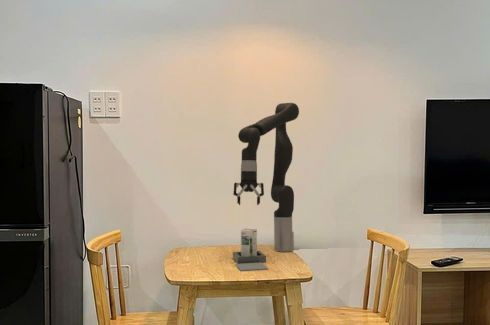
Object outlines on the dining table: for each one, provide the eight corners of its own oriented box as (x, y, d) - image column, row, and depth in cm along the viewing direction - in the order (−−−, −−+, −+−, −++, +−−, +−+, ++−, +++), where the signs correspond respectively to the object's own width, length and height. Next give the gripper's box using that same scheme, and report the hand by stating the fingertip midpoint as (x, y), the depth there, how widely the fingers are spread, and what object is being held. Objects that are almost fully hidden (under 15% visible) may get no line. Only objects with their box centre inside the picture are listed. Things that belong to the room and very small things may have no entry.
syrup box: (240, 261, 224) (240, 229, 224) (246, 258, 230) (246, 227, 230) (251, 262, 222) (251, 230, 222) (257, 259, 227) (257, 228, 227)
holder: (259, 256, 233) (259, 250, 233) (266, 262, 221) (266, 255, 221) (232, 258, 231) (232, 252, 231) (237, 264, 218) (237, 257, 218)
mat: (261, 263, 219) (261, 262, 219) (268, 269, 207) (268, 268, 207) (235, 265, 216) (235, 264, 216) (240, 271, 205) (240, 270, 205)
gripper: (263, 170, 233) (263, 204, 233) (234, 170, 233) (233, 204, 233) (264, 170, 225) (263, 205, 225) (233, 170, 226) (233, 205, 225)
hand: (248, 204), depth 229 cm, fingers open, 8 cm apart
